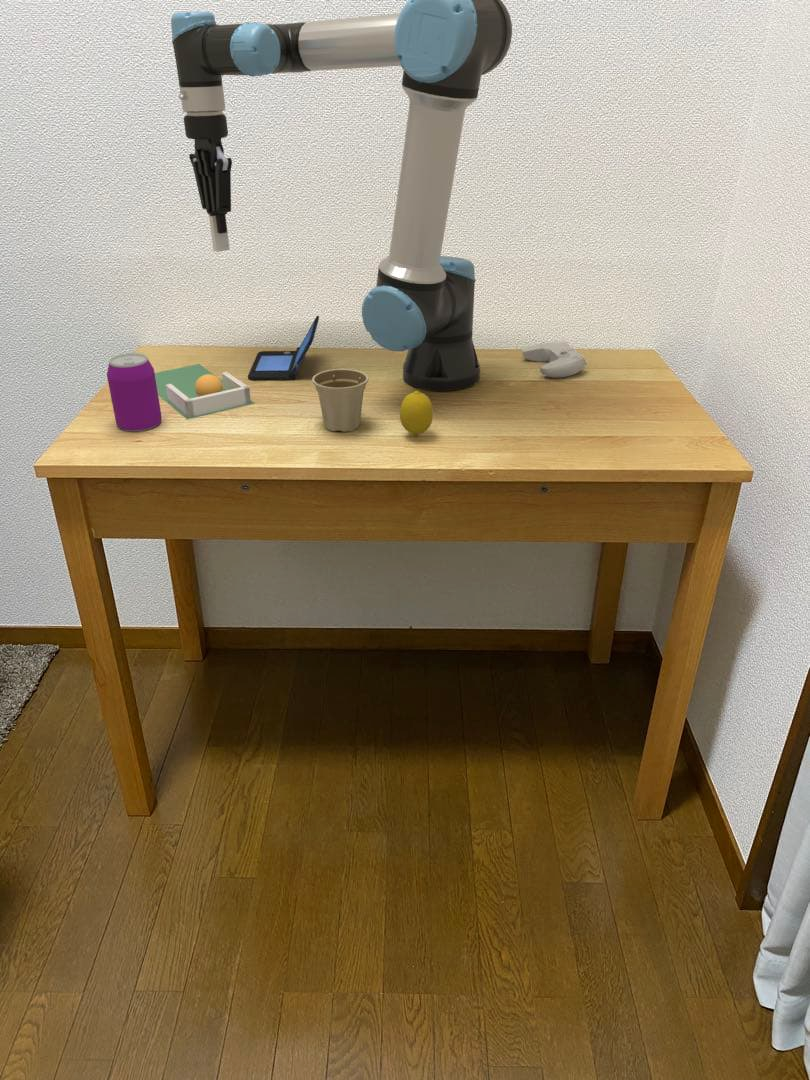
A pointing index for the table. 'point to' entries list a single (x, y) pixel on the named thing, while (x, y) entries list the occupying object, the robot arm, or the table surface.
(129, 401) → the beverage can
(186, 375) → the putting mat
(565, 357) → the game controller
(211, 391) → the orange ball
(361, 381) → the flower pot
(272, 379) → the handheld game console
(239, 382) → the white u-shaped frame
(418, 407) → the lemon
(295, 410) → the table surface
